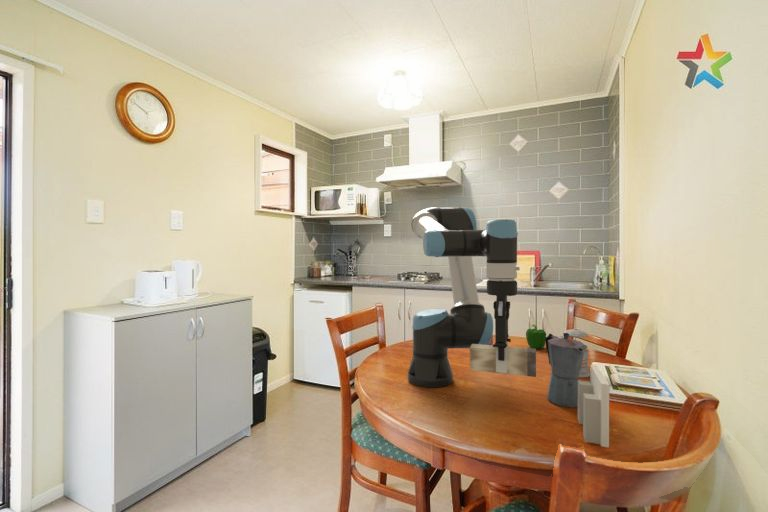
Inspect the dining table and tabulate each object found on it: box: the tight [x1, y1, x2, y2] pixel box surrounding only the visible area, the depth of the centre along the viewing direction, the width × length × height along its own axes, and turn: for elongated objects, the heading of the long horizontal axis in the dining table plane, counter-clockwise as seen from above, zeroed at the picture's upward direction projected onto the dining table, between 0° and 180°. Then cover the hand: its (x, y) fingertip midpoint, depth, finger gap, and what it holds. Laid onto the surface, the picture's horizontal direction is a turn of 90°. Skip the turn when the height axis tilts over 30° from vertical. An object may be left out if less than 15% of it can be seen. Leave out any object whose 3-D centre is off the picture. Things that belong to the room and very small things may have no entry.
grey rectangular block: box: [469, 344, 537, 378], centre depth 95 cm, size 16×4×6 cm, turn 68°
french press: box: [558, 301, 590, 378], centre depth 129 cm, size 10×12×25 cm
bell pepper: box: [525, 323, 547, 350], centre depth 161 cm, size 8×8×10 cm
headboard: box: [577, 364, 610, 449], centre depth 88 cm, size 4×14×14 cm, turn 159°
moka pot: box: [545, 332, 586, 408], centre depth 105 cm, size 10×15×20 cm, turn 16°
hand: (502, 369), depth 95 cm, fingers closed on grey rectangular block, 4 cm apart
